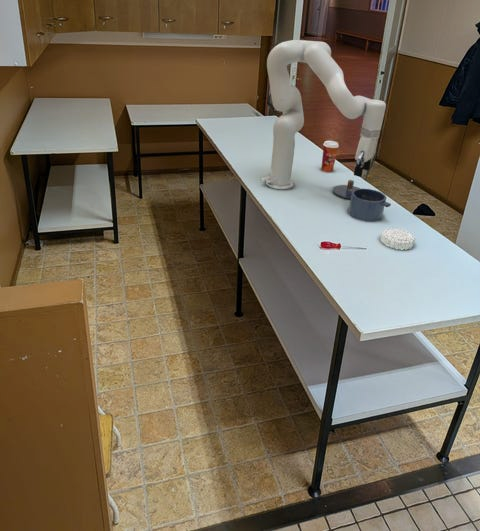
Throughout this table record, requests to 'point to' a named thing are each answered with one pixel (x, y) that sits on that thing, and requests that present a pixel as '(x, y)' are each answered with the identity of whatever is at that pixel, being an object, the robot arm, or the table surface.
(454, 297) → the table surface
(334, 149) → the paper cup
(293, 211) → the table surface
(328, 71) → the robot arm
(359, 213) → the pot
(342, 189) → the lid
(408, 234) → the mooncake
